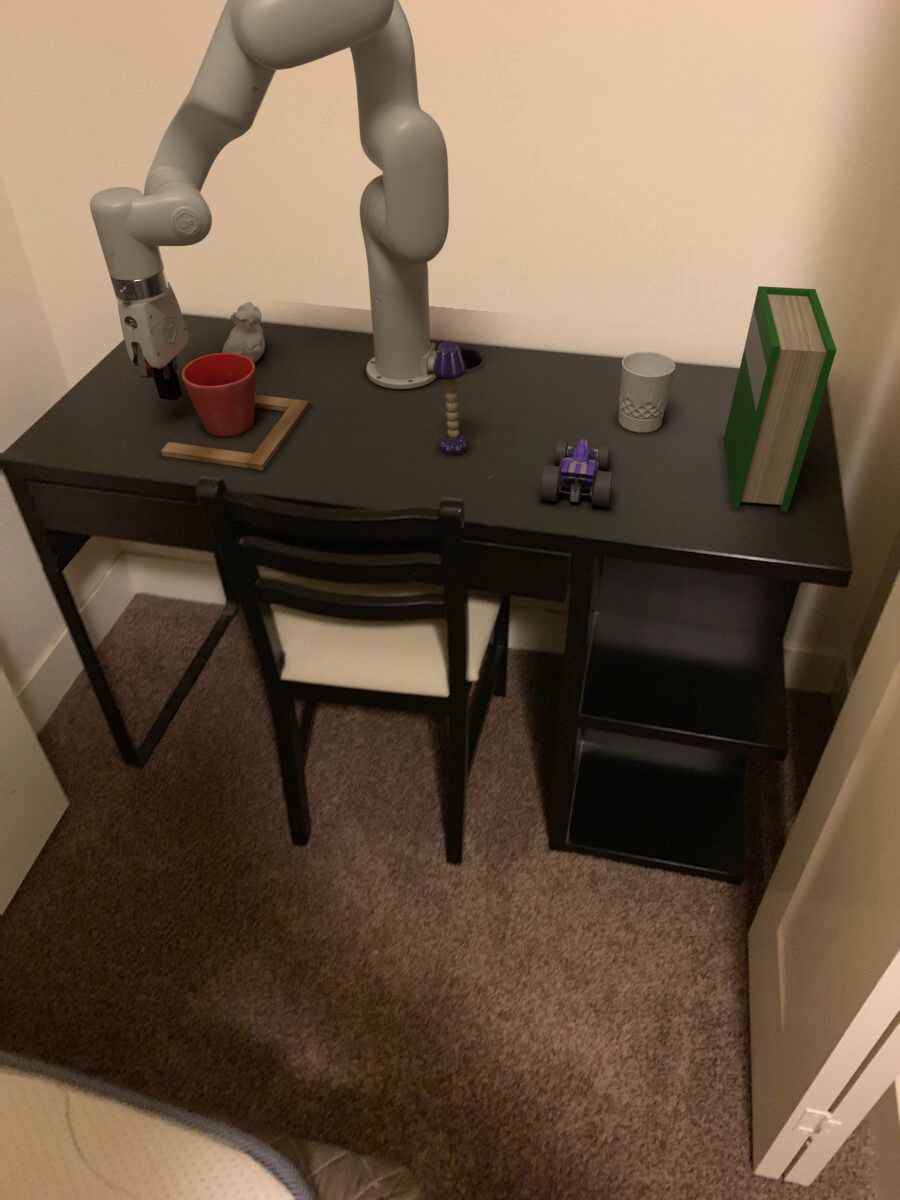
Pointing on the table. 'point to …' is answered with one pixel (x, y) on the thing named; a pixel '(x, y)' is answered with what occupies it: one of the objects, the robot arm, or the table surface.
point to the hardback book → (777, 395)
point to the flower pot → (222, 392)
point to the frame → (264, 451)
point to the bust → (246, 333)
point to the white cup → (644, 390)
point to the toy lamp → (451, 394)
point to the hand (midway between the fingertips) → (171, 397)
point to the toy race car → (578, 473)
